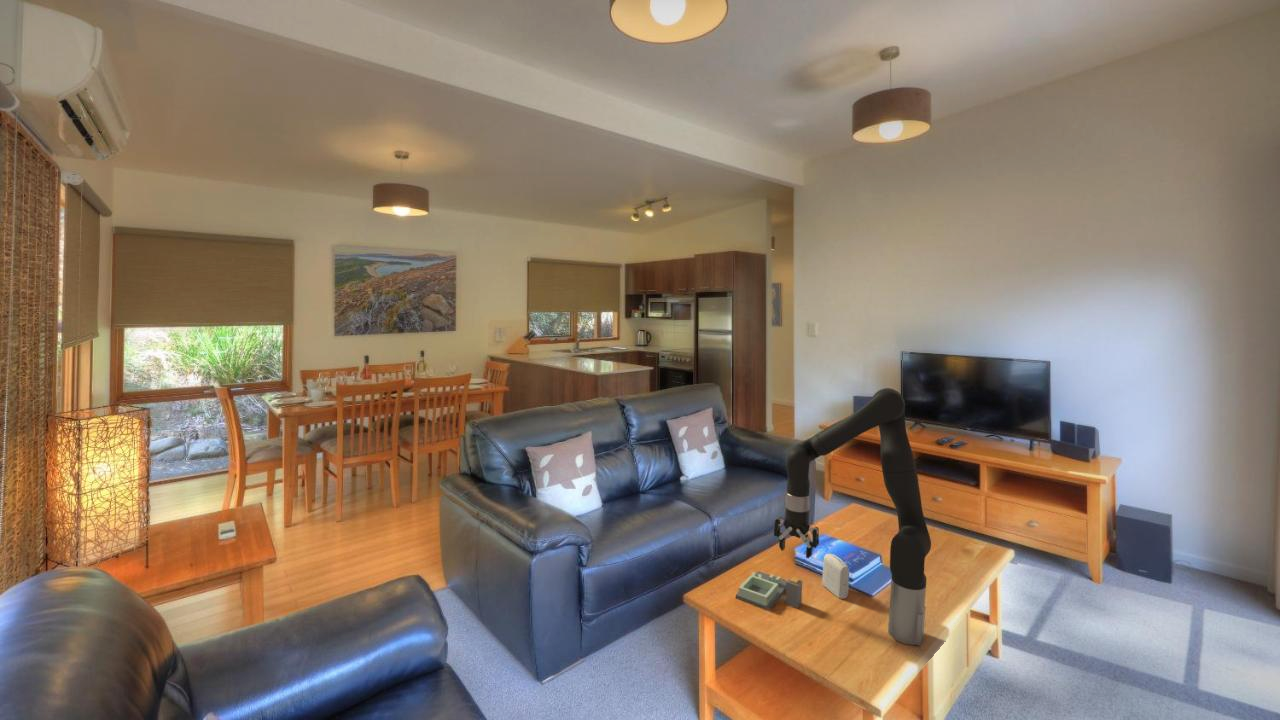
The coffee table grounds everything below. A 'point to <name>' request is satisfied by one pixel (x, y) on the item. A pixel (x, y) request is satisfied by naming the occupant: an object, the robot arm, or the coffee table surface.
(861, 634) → the coffee table surface
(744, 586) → the end holder
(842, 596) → the photo printer
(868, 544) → the coffee table surface
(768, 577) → the board
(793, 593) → the block
